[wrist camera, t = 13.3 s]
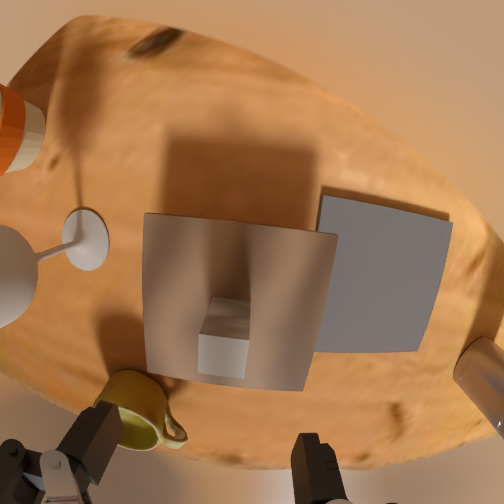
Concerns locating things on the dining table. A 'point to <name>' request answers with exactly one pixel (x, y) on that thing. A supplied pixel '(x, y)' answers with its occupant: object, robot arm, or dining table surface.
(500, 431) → the robot arm
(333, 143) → the dining table surface
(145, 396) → the mug
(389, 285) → the mat
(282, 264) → the lid
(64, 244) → the wineglass
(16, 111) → the reusable coffee cup
